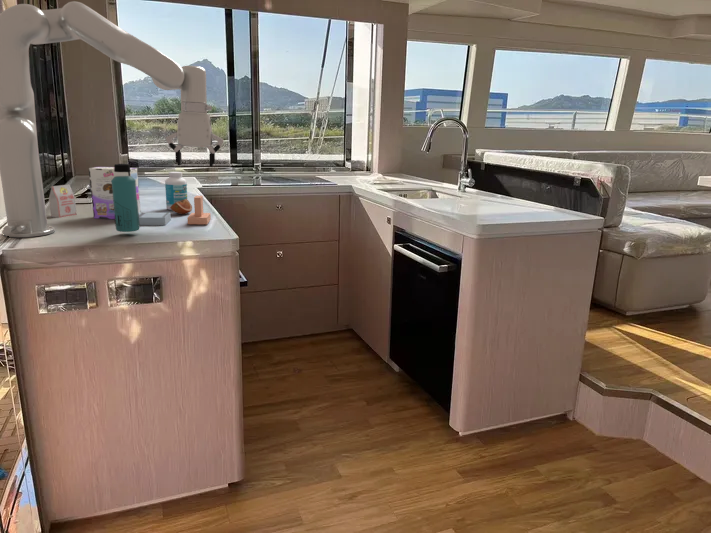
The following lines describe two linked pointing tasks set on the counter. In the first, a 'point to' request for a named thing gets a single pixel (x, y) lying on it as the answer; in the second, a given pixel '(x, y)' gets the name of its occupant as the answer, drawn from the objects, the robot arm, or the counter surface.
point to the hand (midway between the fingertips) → (195, 165)
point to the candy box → (107, 190)
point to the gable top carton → (62, 201)
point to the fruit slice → (182, 207)
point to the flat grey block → (154, 218)
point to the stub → (198, 213)
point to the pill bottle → (175, 189)
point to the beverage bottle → (125, 200)
